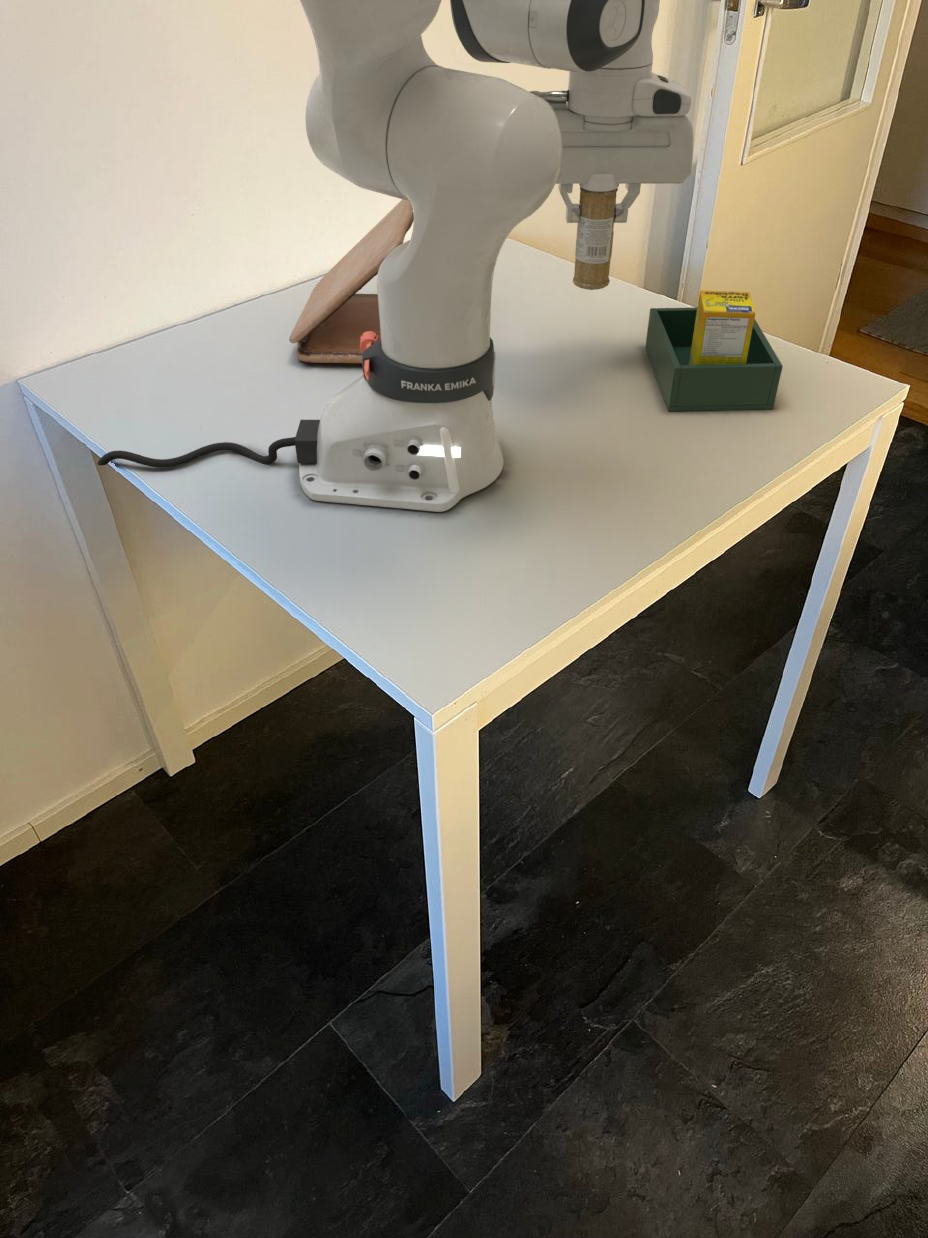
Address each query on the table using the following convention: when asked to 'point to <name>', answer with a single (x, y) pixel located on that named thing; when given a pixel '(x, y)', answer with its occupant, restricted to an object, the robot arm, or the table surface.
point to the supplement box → (722, 328)
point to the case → (349, 296)
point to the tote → (708, 368)
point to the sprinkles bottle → (595, 232)
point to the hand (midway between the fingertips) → (596, 221)
